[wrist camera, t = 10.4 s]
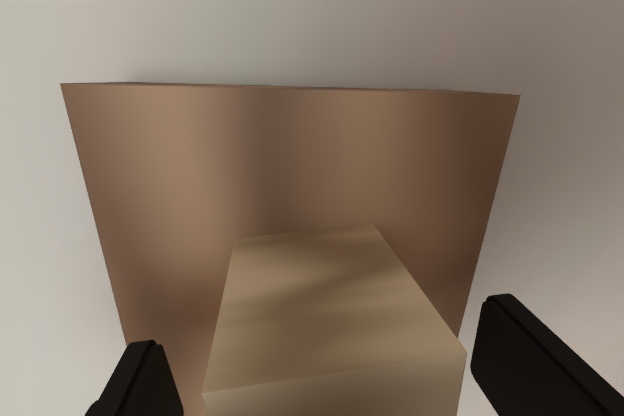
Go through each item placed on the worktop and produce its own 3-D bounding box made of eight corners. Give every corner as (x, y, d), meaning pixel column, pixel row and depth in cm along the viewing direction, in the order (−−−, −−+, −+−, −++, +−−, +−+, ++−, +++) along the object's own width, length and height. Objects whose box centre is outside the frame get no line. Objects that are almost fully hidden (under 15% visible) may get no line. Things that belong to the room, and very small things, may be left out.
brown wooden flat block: (443, 90, 15) (520, 94, 10) (401, 333, 21) (439, 406, 16) (131, 81, 13) (59, 83, 9) (178, 351, 19) (150, 438, 14)
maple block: (372, 223, 12) (467, 352, 6) (371, 328, 14) (442, 500, 8) (234, 238, 11) (201, 393, 6) (253, 345, 13) (241, 540, 8)
